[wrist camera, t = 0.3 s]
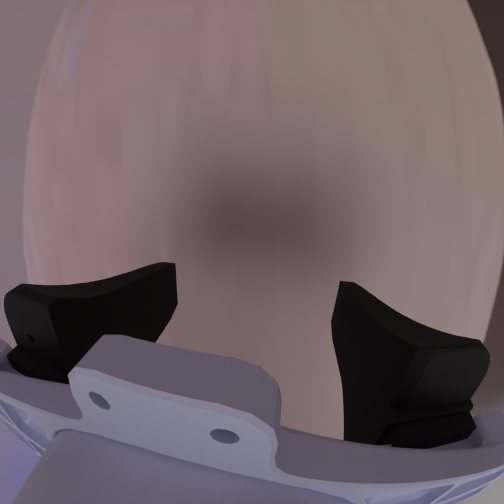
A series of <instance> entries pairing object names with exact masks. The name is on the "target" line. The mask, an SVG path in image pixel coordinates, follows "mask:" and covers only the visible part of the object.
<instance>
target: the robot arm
mask: <svg viewBox="0 0 504 504" xmlns="http://www.w3.org/2000/svg"><path fill="white" fill-rule="evenodd" d="M177 304H178V301H177V285H176V266H175V263H167V262H160V263H155V264H152V265H148V266H145V267H142V268H139V269H136V270H133V271H130V272H127V273H124V274H121V275H117V276H114V277H111V278H107V279H103V280H98V281H93V282H87V283H79V284H71V285H34V284H20V285H18V286H17V287H15V288H14V289H12V290H11V291H9V292H8V293H7V294H6V295H5V298H4V310H5V314H6V317H7V320H8V323H9V326H10V328H11V331H12V333H13V336H14V338H15V340H16V343H17V346H16V347H15V348H14V349H12V348H11V346H10V345H9V344H8V343H6V342H5V341H3V340H2V339H0V423H2V424H3V425H4V426H5V427H6V428H7V429H8V430H9V431H10V432H11V433H13V434H14V435H15V436H16V437H17V438H18V439H19V440H20V441H22V442H23V443H24V444H25V445H26V446H28V447H29V448H30V449H31V450H33V451H34V452H35V453H36V454H37V455H39V456H40V457H41V458H40V460H39V461H38V463H37V464H36V466H35V467H34V469H33V470H32V472H31V474H30V475H29V477H28V478H27V480H26V481H25V483H24V484H23V486H22V487H21V489H20V491H19V492H18V494H17V496H16V497H15V499H14V500H13V502H12V504H457V503H459V502H461V501H464V500H466V499H468V498H471V497H473V496H475V495H477V494H479V493H480V492H482V491H483V490H484V489H486V488H487V487H488V486H490V485H491V484H492V483H493V482H494V481H496V480H497V479H498V478H499V477H501V476H502V475H503V474H504V414H503V412H502V411H501V408H500V407H497V408H494V409H491V410H487V411H484V412H481V413H479V414H477V415H476V416H474V417H473V418H472V416H471V414H470V412H469V411H471V410H472V408H473V404H472V402H471V400H470V398H471V397H472V395H473V394H474V392H475V391H476V389H477V388H478V386H479V385H480V383H481V382H482V380H483V378H484V377H485V375H486V372H487V370H488V367H489V363H490V354H489V352H488V350H487V349H486V348H485V346H484V345H483V344H482V342H481V341H480V340H478V339H472V338H467V337H461V336H456V335H452V334H449V333H445V332H442V331H439V330H436V329H433V328H430V327H428V326H425V325H423V324H420V323H418V322H416V321H414V320H412V319H410V318H408V317H406V316H404V315H402V314H400V313H399V312H397V311H395V310H394V309H392V308H391V307H389V306H388V305H386V304H385V303H383V302H382V301H380V300H379V299H377V298H376V297H375V296H373V295H372V294H371V293H369V292H368V291H367V290H365V289H364V288H362V287H361V286H359V285H358V284H356V283H354V282H345V281H340V284H339V289H338V293H337V298H336V303H335V307H334V311H333V316H332V320H331V327H332V339H333V344H334V349H335V353H336V358H337V362H338V367H339V371H340V376H341V381H342V389H343V405H344V440H339V439H334V438H329V437H324V436H319V435H315V434H310V433H306V432H302V431H298V430H294V429H290V428H287V427H283V426H280V417H281V403H282V398H281V394H280V389H279V385H278V382H277V381H276V380H275V379H274V378H272V377H271V376H270V375H269V374H268V373H267V372H266V371H264V370H263V369H262V368H261V367H260V366H257V365H254V364H251V363H248V362H244V361H241V360H238V359H235V358H233V357H227V356H220V355H214V354H208V353H202V352H197V351H191V350H186V349H181V348H176V347H171V346H167V345H162V344H157V343H155V342H156V341H157V339H158V338H159V336H160V335H161V333H162V332H163V330H164V329H165V327H166V326H167V324H168V323H169V321H170V319H171V317H172V315H173V313H174V311H175V309H176V306H177Z"/></svg>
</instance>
